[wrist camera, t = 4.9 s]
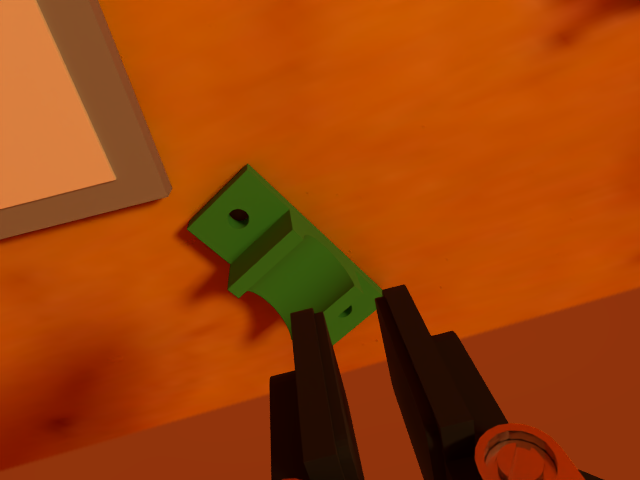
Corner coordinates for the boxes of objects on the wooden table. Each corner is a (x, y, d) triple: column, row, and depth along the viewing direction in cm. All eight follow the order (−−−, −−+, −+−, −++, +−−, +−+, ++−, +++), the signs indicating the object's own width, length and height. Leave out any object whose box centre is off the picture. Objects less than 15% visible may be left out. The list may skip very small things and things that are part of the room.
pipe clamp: (401, 325, 25) (338, 376, 26) (384, 288, 28) (329, 335, 29) (244, 186, 21) (176, 254, 22) (246, 162, 24) (188, 222, 25)
